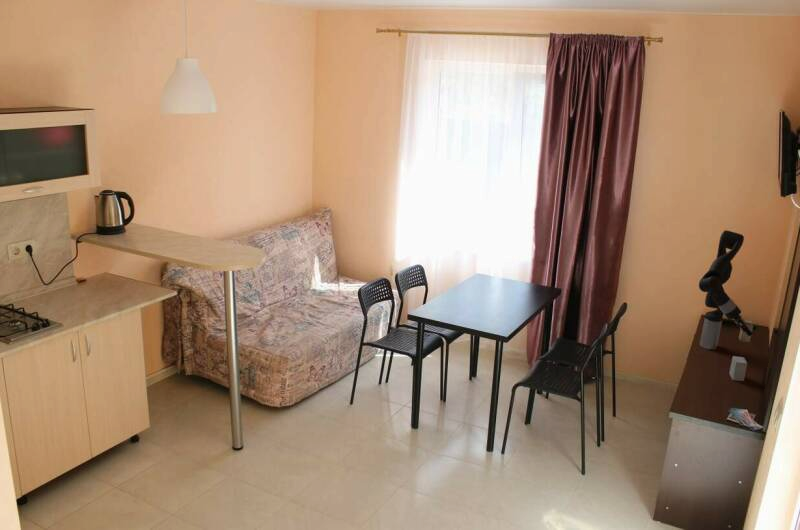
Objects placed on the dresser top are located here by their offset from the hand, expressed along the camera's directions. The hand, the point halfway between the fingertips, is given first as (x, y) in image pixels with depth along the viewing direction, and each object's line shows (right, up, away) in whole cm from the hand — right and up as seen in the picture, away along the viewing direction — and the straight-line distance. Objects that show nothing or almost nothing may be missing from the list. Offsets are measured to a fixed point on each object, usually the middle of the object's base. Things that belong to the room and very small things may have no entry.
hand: (749, 333), depth 369 cm
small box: (-3, -25, +9) cm, 26 cm away
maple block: (-2, -4, +2) cm, 5 cm away
